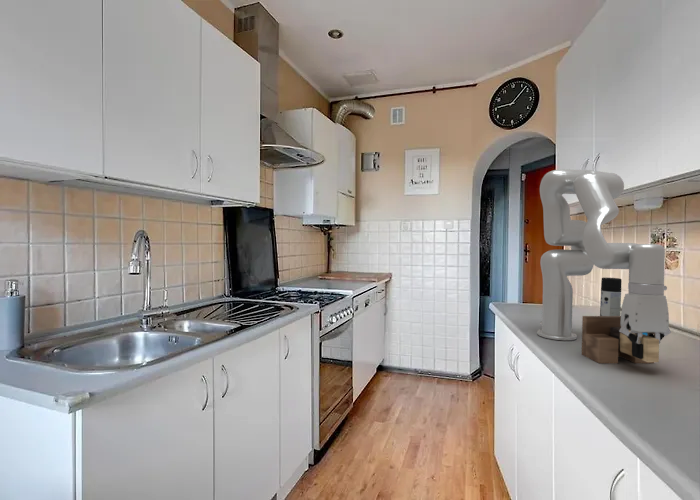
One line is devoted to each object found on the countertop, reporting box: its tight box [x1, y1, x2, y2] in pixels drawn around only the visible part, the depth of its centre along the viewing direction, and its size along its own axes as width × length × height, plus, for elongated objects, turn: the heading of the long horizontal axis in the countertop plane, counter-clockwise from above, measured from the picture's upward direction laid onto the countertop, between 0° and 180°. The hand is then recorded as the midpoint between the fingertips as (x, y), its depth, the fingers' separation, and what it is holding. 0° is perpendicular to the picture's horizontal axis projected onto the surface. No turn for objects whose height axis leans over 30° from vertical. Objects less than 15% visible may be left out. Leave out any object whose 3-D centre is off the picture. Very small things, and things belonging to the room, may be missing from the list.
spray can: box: [599, 277, 623, 316], centre depth 148 cm, size 7×7×20 cm
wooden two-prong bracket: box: [581, 315, 655, 364], centre depth 111 cm, size 8×16×12 cm, turn 90°
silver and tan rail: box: [610, 327, 660, 363], centre depth 105 cm, size 14×3×6 cm, turn 0°
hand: (644, 356), depth 101 cm, fingers closed on silver and tan rail, 3 cm apart
